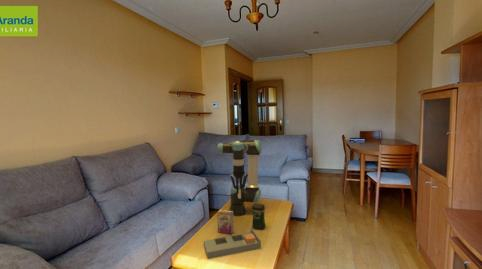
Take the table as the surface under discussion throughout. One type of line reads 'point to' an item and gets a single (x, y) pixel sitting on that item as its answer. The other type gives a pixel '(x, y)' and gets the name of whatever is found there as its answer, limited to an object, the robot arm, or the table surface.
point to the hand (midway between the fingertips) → (239, 197)
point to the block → (249, 238)
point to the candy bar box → (225, 221)
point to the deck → (230, 245)
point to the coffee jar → (258, 216)
